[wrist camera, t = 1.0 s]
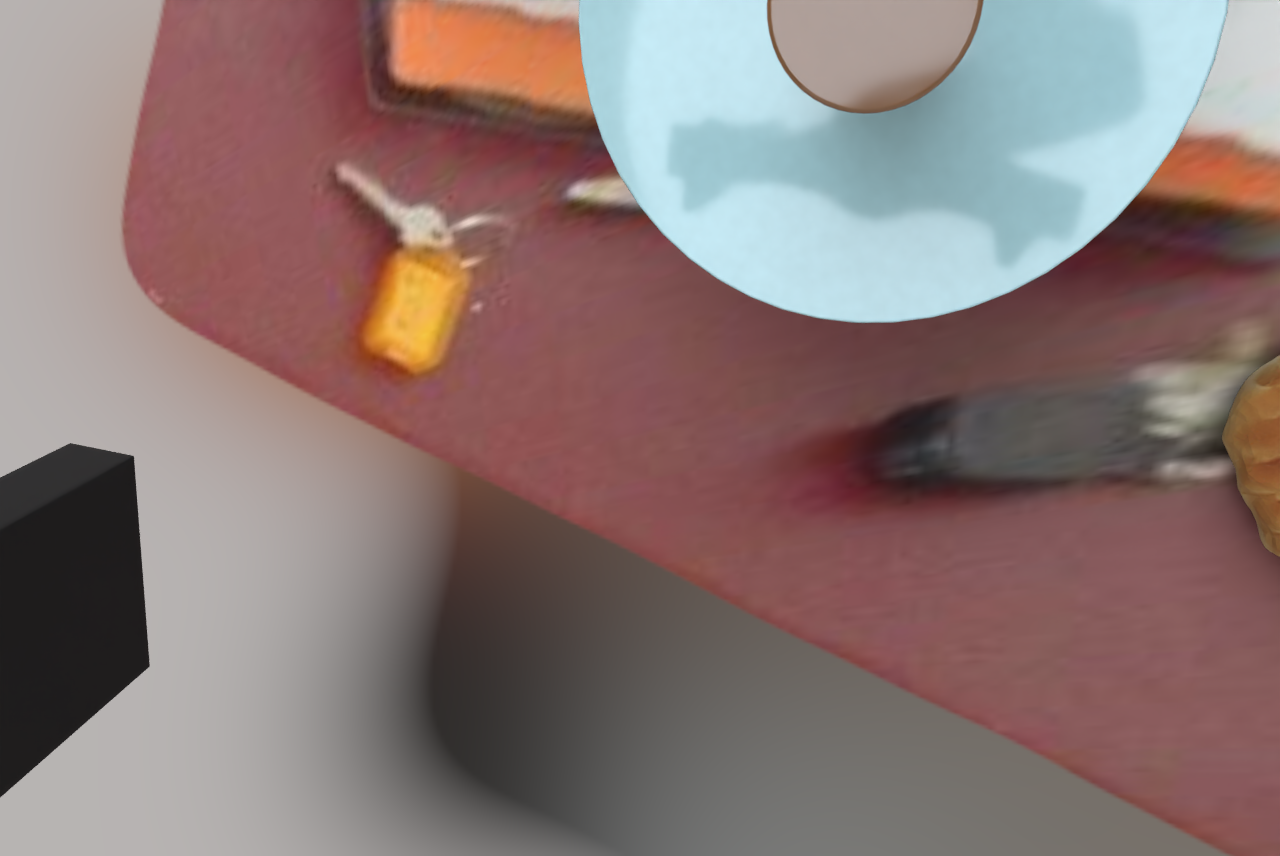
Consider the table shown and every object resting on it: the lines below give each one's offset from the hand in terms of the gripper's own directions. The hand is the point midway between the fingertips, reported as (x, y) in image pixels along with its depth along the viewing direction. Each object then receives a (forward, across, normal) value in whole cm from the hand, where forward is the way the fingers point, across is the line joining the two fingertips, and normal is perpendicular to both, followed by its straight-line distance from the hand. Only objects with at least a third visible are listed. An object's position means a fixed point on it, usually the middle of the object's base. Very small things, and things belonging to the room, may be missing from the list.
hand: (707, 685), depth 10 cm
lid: (+17, +1, +7) cm, 19 cm away
